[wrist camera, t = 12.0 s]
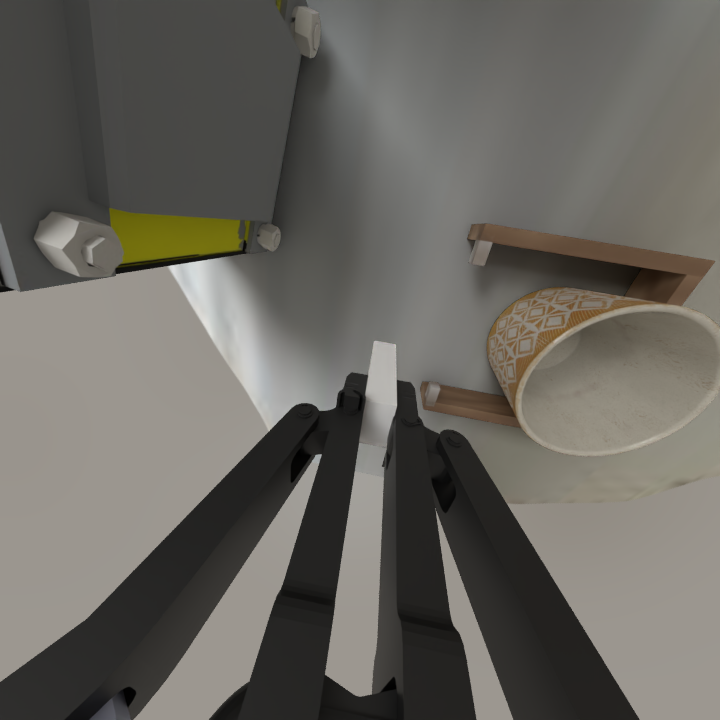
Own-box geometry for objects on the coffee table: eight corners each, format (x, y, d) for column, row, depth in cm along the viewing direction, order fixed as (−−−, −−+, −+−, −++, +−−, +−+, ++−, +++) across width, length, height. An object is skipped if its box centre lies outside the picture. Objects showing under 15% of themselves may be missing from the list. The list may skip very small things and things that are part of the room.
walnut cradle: (471, 224, 23) (486, 223, 20) (664, 256, 22) (715, 261, 19) (420, 389, 32) (423, 409, 28) (558, 415, 31) (580, 439, 28)
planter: (496, 270, 25) (558, 294, 15) (635, 282, 24) (789, 316, 14) (463, 380, 30) (493, 445, 21) (573, 393, 30) (655, 467, 20)
